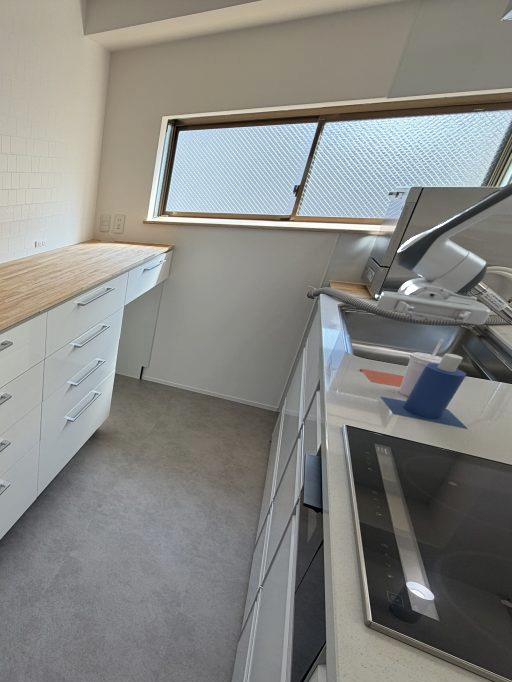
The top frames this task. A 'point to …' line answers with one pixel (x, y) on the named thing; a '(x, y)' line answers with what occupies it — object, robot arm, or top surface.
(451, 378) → the blue bottle
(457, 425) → the blue mat
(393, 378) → the terracotta mat
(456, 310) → the robot arm
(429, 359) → the smoothie
